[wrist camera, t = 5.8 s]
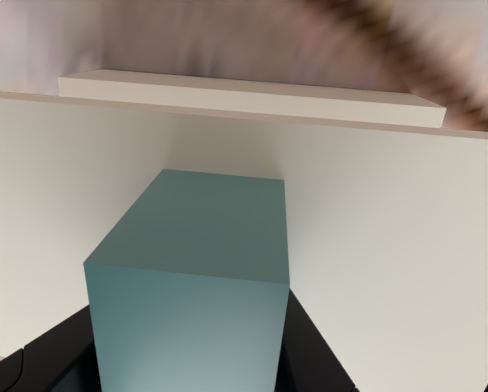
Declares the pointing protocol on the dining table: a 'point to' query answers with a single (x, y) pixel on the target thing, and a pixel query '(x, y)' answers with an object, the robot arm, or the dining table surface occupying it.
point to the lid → (244, 242)
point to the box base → (253, 97)
